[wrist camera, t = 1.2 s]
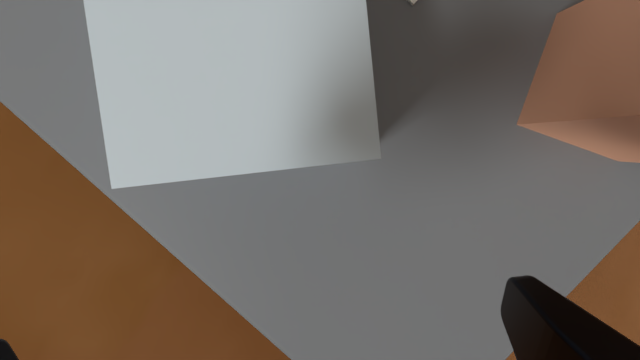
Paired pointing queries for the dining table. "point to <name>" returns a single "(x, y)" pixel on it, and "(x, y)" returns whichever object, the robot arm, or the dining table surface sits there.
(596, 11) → the pillar block
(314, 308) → the board
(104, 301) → the dining table surface
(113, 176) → the base block
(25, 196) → the dining table surface
